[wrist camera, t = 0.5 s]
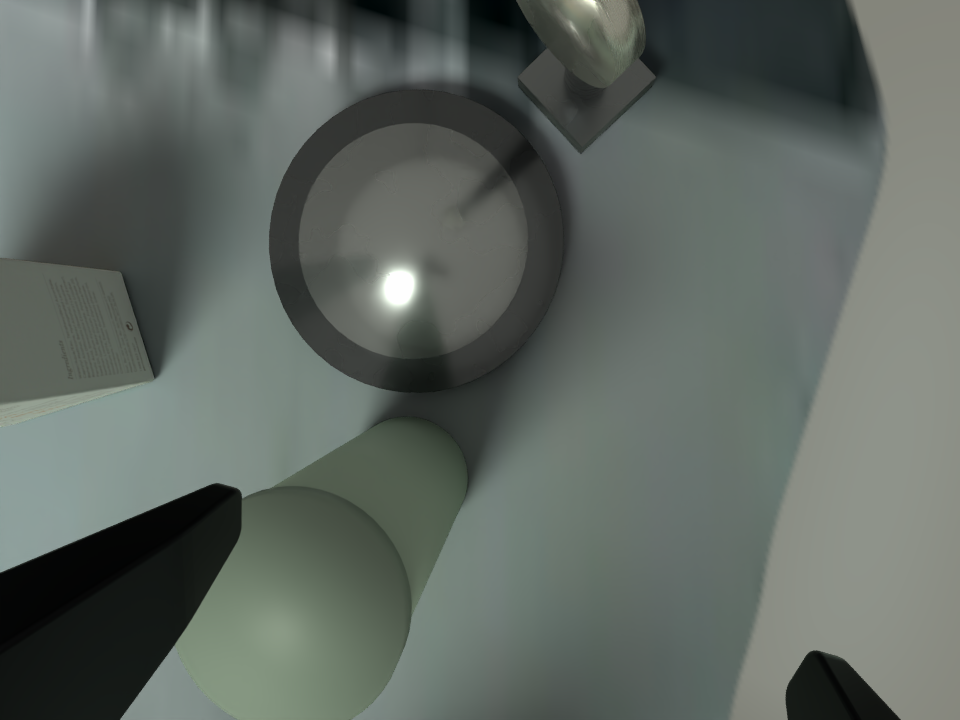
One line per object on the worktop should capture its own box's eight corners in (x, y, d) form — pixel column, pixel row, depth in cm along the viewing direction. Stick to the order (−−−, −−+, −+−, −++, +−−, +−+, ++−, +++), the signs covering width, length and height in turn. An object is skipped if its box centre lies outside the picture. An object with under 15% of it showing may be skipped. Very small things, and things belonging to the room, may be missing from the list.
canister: (389, 562, 27) (252, 775, 14) (322, 455, 27) (124, 571, 14) (495, 498, 26) (451, 662, 14) (426, 389, 27) (317, 449, 14)
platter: (376, 442, 27) (367, 448, 26) (227, 206, 27) (211, 200, 26) (619, 289, 25) (623, 287, 24) (460, 38, 25) (456, 23, 24)
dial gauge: (581, 12, 25) (609, -212, 14) (658, 93, 25) (741, -73, 14) (512, 80, 25) (492, -90, 15) (587, 160, 25) (618, 45, 15)
